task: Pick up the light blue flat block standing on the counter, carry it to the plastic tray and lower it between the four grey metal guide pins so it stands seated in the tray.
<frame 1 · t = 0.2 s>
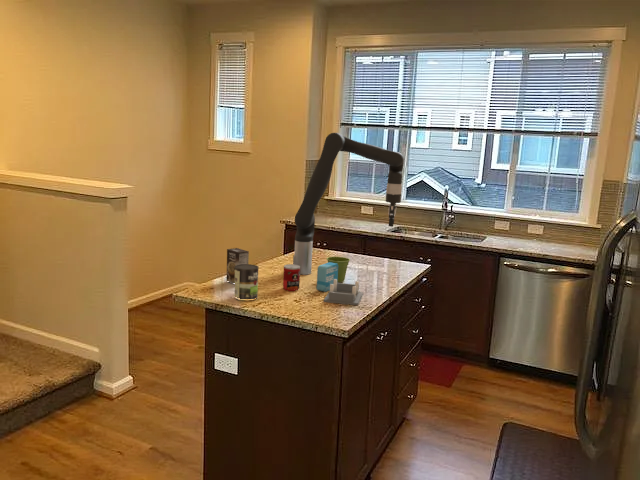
hand: (391, 225, 277), 29 cm above the counter, tool pointing down, fingers open, 8 cm apart
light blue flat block: (326, 289, 263), on the counter
tray: (343, 298, 249), on the counter
coffee box: (237, 283, 266), on the counter
canned food: (291, 289, 260), on the counter
plant pot: (337, 281, 279), on the counter
coffee can: (245, 298, 242), on the counter
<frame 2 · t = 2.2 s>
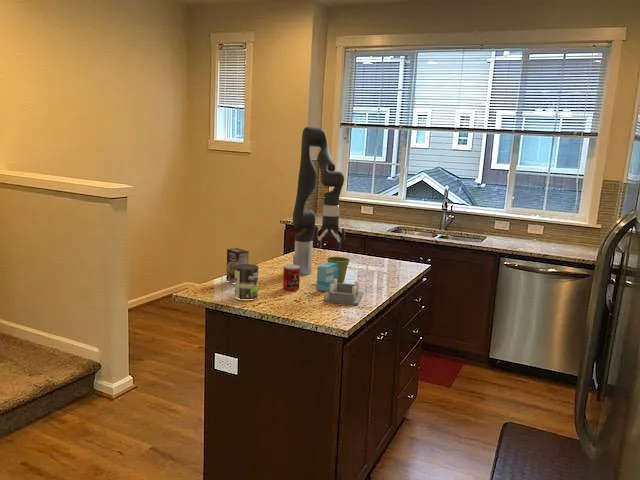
hand: (329, 248, 259), 19 cm above the counter, tool pointing down, fingers open, 8 cm apart
nothing on the counter moved.
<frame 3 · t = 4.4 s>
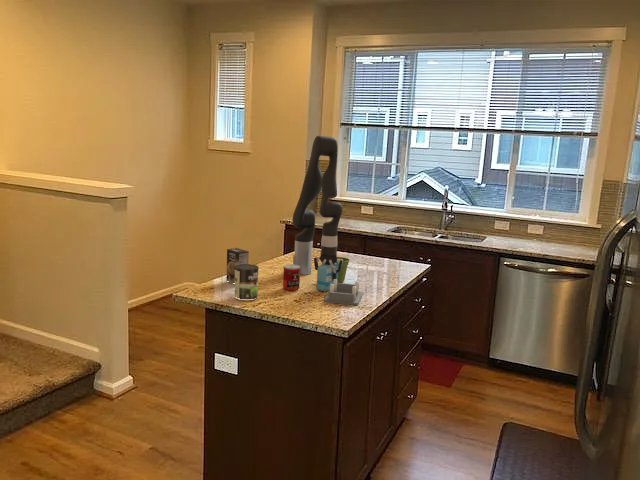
hand: (327, 279, 262), 5 cm above the counter, tool pointing down, fingers closed on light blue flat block, 5 cm apart
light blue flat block: (326, 289, 263), on the counter, touching gripper
everything else where it was.
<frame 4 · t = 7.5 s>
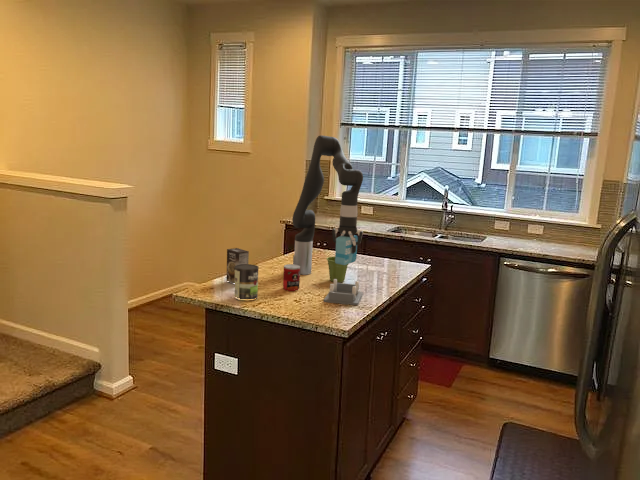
hand: (346, 252, 245), 21 cm above the counter, tool pointing down, fingers closed on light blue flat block, 5 cm apart
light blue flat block: (345, 263, 246), point 16 cm above the counter, touching gripper
everything else where it was.
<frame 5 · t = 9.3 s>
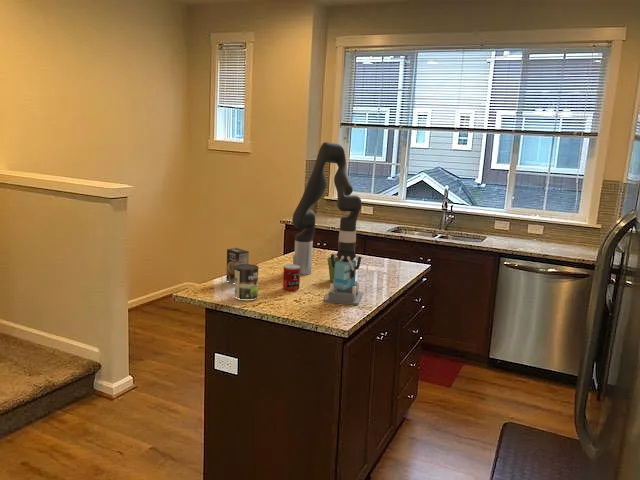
hand: (345, 277, 248), 10 cm above the counter, tool pointing down, fingers closed on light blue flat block, 5 cm apart
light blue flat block: (344, 287, 248), point 5 cm above the counter, touching gripper
everything else where it was.
when the fingers open (7 cm above the counter, at t = 10.8 s): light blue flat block drops 1 cm, resting on tray.
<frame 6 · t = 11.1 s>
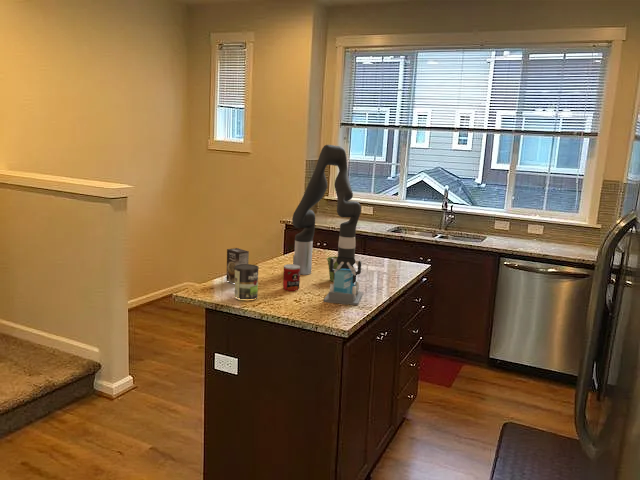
hand: (344, 282, 248), 7 cm above the counter, tool pointing down, fingers open, 7 cm apart
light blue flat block: (343, 296, 249), point 1 cm above the counter, touching tray
everything else where it was.
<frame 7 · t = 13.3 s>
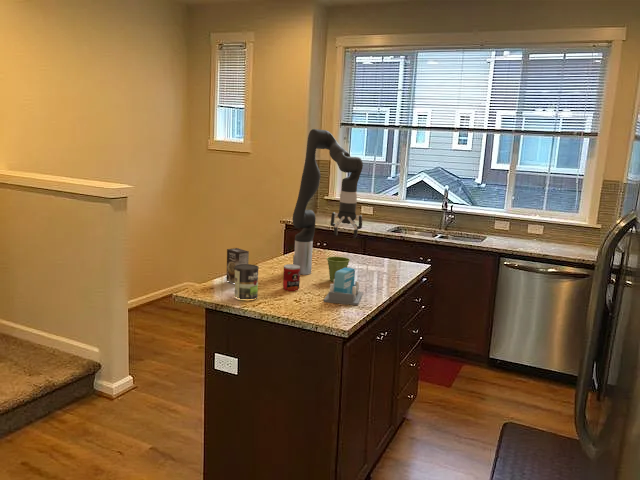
hand: (345, 236, 253), 27 cm above the counter, tool pointing down, fingers open, 8 cm apart
nothing on the counter moved.
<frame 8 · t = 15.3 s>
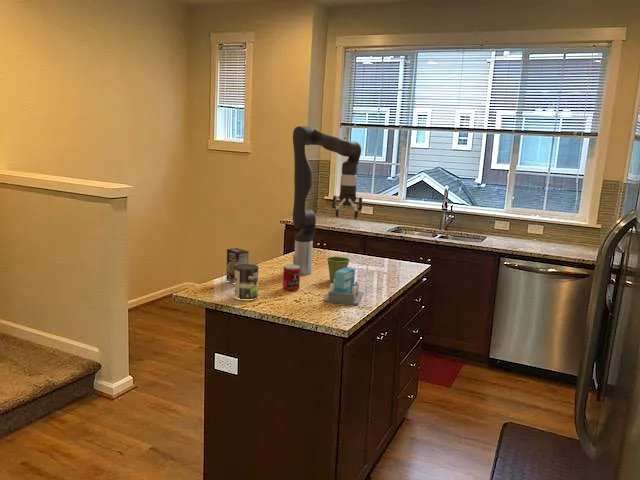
hand: (346, 218, 265), 33 cm above the counter, tool pointing down, fingers open, 8 cm apart
nothing on the counter moved.
at the end: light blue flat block inside the target area on the tray (0.1 cm from its centre), point 0.8 cm above the tray's base; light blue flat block tilted 0°; the gripper is holding nothing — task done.
